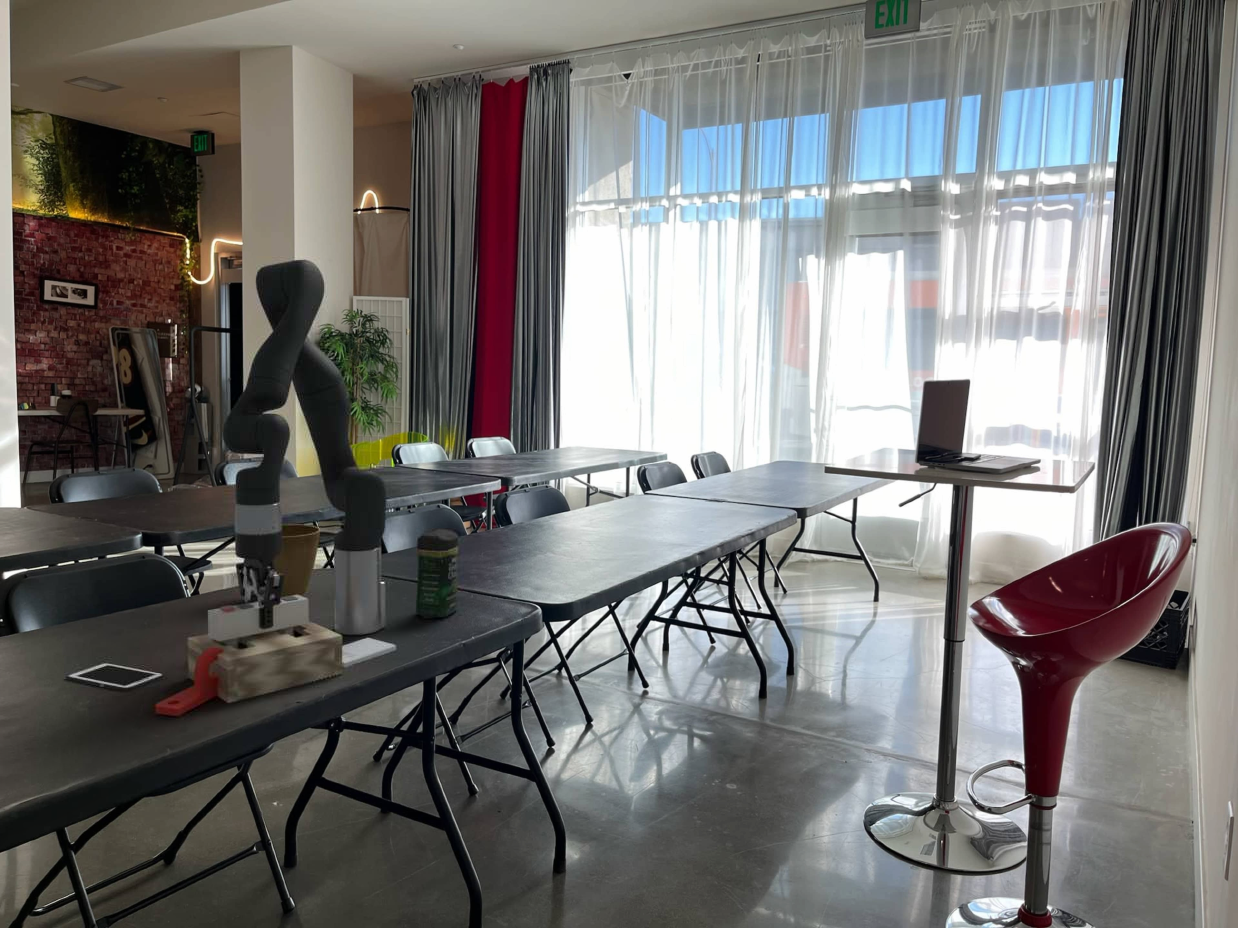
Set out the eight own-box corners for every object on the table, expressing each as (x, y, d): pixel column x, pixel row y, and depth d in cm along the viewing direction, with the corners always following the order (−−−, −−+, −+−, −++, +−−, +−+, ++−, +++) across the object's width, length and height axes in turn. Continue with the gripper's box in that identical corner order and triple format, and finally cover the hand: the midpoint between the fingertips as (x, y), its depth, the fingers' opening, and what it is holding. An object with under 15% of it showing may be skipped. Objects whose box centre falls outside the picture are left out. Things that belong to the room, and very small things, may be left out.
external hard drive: (396, 653, 169) (344, 670, 159) (366, 645, 174) (314, 661, 163) (396, 644, 169) (344, 661, 159) (366, 636, 174) (314, 653, 163)
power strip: (298, 639, 162) (297, 591, 161) (308, 644, 159) (308, 596, 158) (209, 658, 150) (207, 607, 149) (218, 664, 147) (217, 612, 146)
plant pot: (240, 597, 204) (239, 529, 203) (300, 586, 216) (299, 521, 214) (273, 609, 195) (271, 538, 193) (333, 597, 206) (332, 530, 204)
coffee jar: (444, 620, 190) (444, 535, 188) (410, 617, 191) (410, 533, 190) (463, 609, 199) (463, 528, 197) (431, 606, 201) (431, 525, 199)
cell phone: (104, 667, 157) (104, 661, 157) (166, 679, 152) (166, 673, 152) (63, 681, 150) (63, 675, 150) (127, 694, 145) (127, 688, 144)
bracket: (204, 686, 147) (203, 640, 147) (228, 689, 146) (227, 642, 146) (152, 712, 136) (150, 663, 135) (178, 716, 135) (176, 665, 134)
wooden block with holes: (298, 652, 166) (298, 616, 166) (342, 673, 155) (342, 635, 155) (188, 677, 152) (187, 637, 151) (228, 702, 141) (227, 660, 140)
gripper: (298, 531, 150) (300, 629, 152) (261, 520, 160) (262, 612, 162) (255, 537, 145) (257, 638, 147) (219, 525, 154) (221, 620, 156)
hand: (260, 624), depth 154 cm, fingers closed on power strip, 4 cm apart
